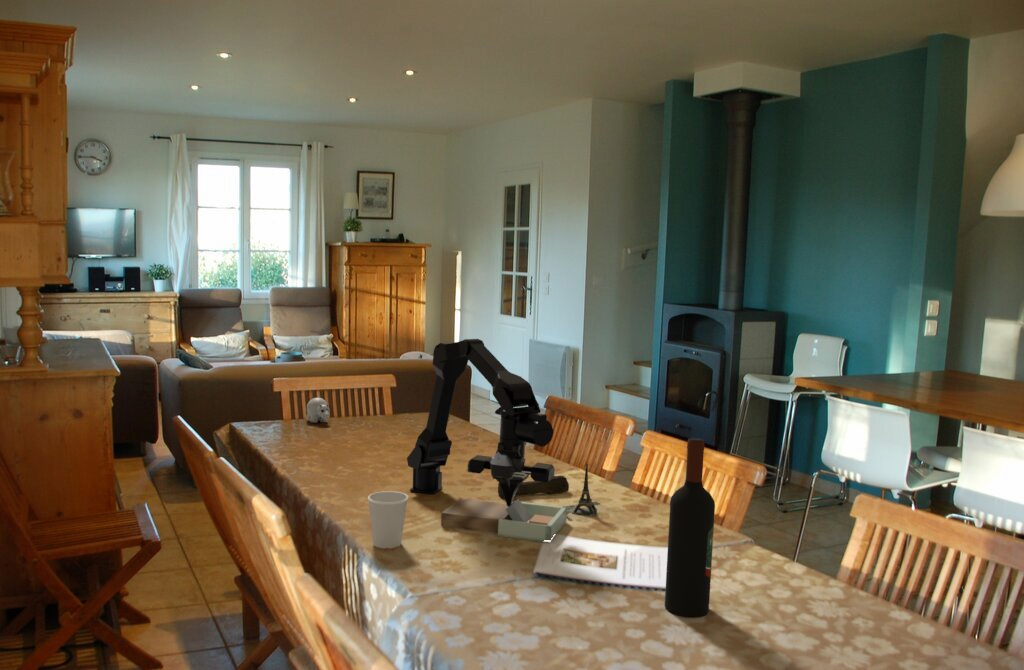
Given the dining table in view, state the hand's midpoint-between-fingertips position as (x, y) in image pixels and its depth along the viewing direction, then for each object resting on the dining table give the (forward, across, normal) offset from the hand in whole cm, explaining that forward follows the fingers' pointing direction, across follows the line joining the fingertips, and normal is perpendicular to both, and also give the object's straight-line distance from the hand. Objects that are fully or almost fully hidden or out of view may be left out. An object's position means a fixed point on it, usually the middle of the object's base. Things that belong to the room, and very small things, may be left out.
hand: (509, 506), depth 190 cm
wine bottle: (+4, +42, -31) cm, 53 cm away
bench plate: (+5, -7, 0) cm, 8 cm away
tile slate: (+2, +1, 0) cm, 3 cm away
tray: (+4, +6, 0) cm, 7 cm away
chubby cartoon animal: (+6, -93, +80) cm, 123 cm away
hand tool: (+5, -2, +27) cm, 27 cm away
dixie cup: (+5, -20, -21) cm, 29 cm away
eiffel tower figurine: (+5, +14, +18) cm, 23 cm away
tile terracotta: (+2, +8, 0) cm, 8 cm away
